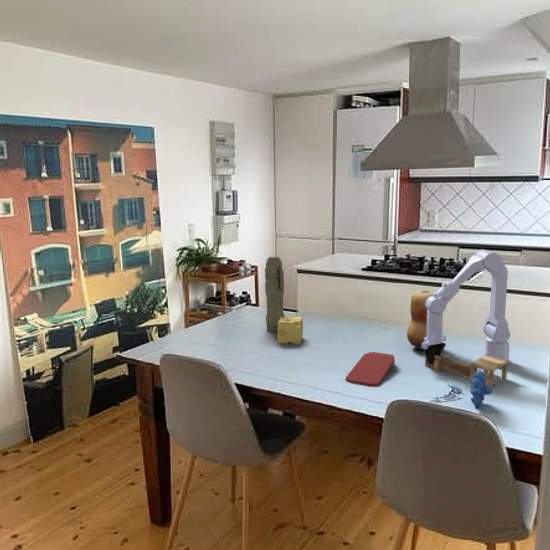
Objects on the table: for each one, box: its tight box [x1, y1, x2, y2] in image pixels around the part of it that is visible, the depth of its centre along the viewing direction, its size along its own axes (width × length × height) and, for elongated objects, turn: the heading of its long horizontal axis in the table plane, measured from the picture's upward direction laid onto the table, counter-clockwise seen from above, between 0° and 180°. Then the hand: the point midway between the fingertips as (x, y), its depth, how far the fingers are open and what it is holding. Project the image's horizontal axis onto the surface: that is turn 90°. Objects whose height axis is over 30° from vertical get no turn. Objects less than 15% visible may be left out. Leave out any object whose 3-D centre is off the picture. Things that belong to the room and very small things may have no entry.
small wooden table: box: [469, 355, 509, 389], centre depth 189 cm, size 12×8×7 cm, turn 134°
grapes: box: [469, 370, 494, 408], centre depth 167 cm, size 12×7×12 cm, turn 150°
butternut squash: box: [406, 289, 437, 351], centre depth 222 cm, size 14×13×25 cm
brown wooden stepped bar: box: [424, 354, 478, 378], centre depth 199 cm, size 8×19×4 cm, turn 44°
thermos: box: [264, 256, 286, 332], centre depth 256 cm, size 9×12×35 cm
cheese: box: [277, 316, 304, 345], centre depth 240 cm, size 10×11×10 cm
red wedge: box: [345, 351, 396, 387], centre depth 200 cm, size 12×5×25 cm
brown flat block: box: [483, 371, 502, 386], centre depth 189 cm, size 6×6×2 cm
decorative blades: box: [432, 382, 465, 401], centre depth 179 cm, size 20×1×10 cm
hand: (433, 362), depth 204 cm, fingers closed on brown wooden stepped bar, 3 cm apart
